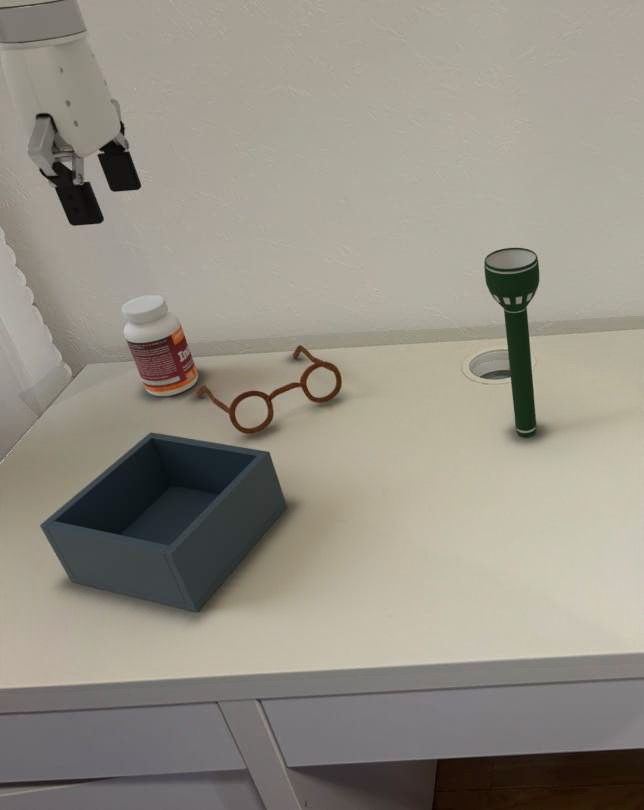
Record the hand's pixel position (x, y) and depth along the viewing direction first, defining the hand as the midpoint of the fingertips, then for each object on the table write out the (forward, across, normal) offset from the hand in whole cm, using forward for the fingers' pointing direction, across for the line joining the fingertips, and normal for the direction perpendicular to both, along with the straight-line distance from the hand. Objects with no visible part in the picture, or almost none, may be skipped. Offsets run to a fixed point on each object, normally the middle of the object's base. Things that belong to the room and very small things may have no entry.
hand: (108, 206), depth 82 cm
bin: (+24, +26, +9) cm, 36 cm away
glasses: (+24, +1, +11) cm, 26 cm away
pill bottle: (+24, -3, -2) cm, 24 cm away
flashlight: (+24, +12, +41) cm, 49 cm away
